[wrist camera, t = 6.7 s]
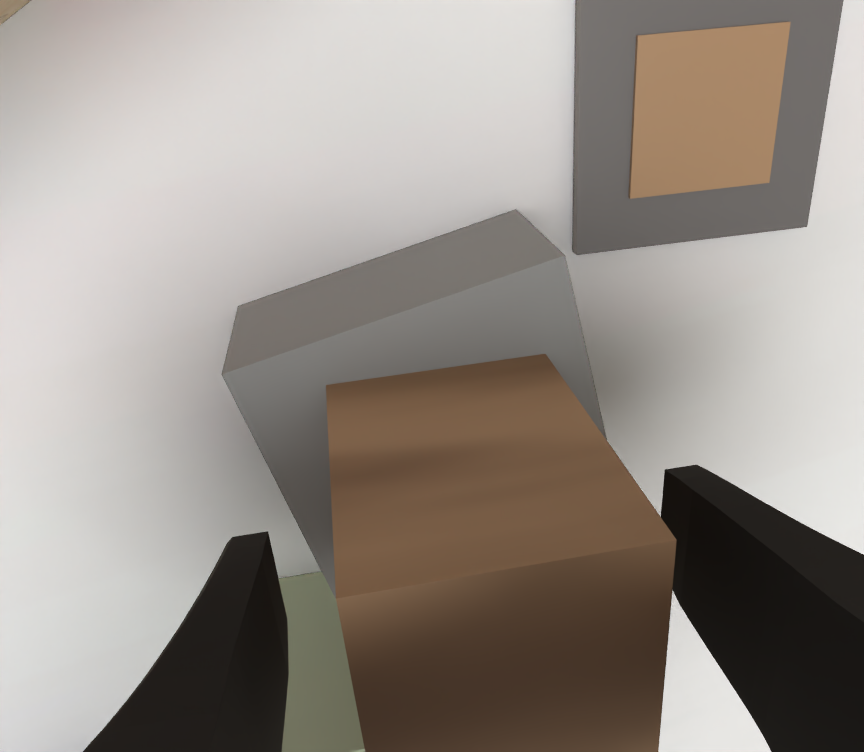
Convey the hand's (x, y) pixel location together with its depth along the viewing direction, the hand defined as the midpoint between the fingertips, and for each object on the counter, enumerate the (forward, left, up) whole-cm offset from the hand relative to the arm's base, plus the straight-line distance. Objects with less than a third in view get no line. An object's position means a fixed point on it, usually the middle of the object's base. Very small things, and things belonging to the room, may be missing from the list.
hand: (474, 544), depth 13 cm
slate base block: (0, 0, -7) cm, 7 cm away
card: (+6, -7, -7) cm, 11 cm away
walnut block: (0, 0, -3) cm, 3 cm away
